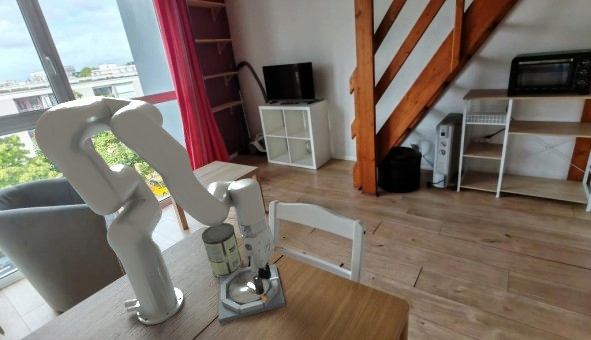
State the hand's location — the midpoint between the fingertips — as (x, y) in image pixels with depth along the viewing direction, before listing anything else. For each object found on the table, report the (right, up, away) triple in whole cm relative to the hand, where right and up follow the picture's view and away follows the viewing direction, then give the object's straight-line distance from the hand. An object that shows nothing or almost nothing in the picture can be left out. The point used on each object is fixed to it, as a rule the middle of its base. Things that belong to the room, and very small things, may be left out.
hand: (265, 276), depth 86 cm
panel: (-5, -5, +2) cm, 7 cm away
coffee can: (-14, -2, +14) cm, 20 cm away
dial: (-5, -4, +1) cm, 6 cm away
